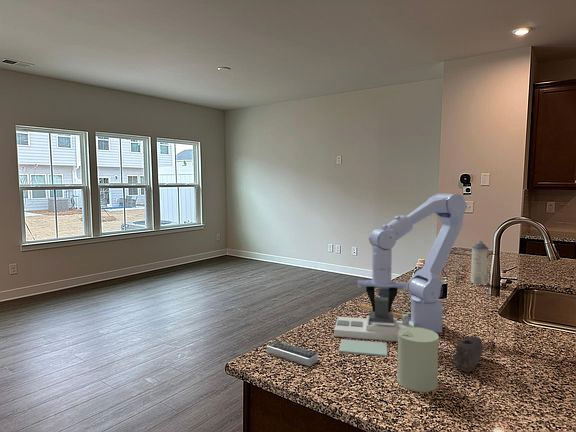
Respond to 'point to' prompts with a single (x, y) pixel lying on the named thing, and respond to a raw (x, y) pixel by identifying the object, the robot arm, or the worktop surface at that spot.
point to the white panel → (368, 328)
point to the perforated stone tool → (468, 353)
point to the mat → (363, 347)
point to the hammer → (404, 316)
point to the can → (418, 359)
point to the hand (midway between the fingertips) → (381, 311)
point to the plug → (381, 311)
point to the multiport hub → (292, 353)
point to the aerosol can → (479, 264)
